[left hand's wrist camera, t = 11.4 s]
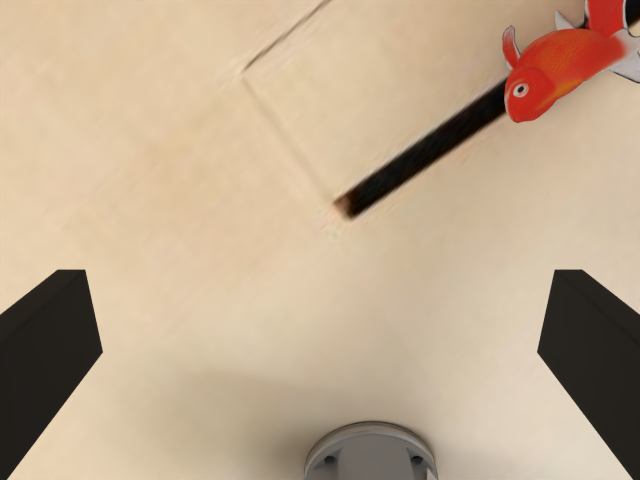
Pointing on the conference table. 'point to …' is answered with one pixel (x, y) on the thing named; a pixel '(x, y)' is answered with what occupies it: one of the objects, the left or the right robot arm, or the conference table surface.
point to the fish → (568, 58)
